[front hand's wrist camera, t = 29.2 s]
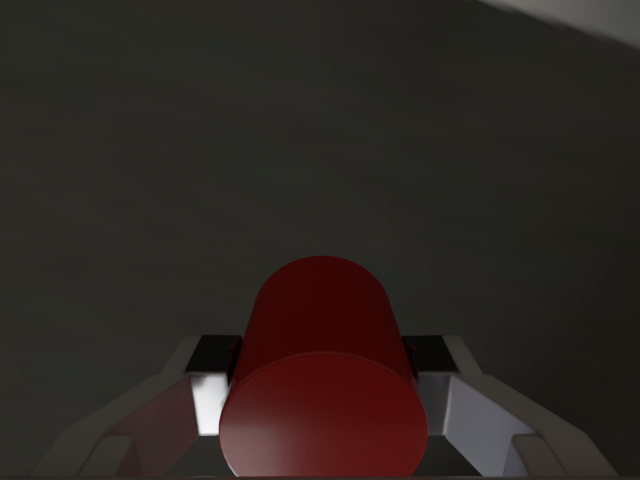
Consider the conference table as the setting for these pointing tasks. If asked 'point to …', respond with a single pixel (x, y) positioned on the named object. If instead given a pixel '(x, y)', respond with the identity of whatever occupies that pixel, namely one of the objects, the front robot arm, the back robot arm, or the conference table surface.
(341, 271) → the tin
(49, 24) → the conference table surface
